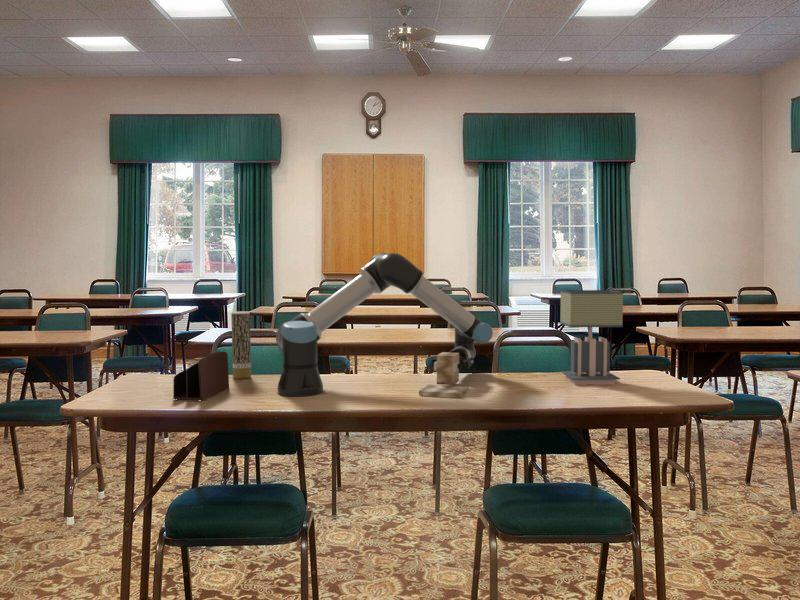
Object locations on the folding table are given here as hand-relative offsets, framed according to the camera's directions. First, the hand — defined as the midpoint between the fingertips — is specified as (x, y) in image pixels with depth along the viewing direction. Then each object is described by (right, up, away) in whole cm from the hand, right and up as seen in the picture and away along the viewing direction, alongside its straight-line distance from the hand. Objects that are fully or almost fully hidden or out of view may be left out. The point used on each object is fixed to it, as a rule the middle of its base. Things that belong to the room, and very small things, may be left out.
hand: (444, 367), depth 211 cm
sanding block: (+2, -6, +5) cm, 8 cm away
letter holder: (-81, -9, -4) cm, 82 cm away
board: (-1, -8, -5) cm, 9 cm away
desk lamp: (+53, -7, +14) cm, 56 cm away
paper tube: (-75, -7, +25) cm, 79 cm away
